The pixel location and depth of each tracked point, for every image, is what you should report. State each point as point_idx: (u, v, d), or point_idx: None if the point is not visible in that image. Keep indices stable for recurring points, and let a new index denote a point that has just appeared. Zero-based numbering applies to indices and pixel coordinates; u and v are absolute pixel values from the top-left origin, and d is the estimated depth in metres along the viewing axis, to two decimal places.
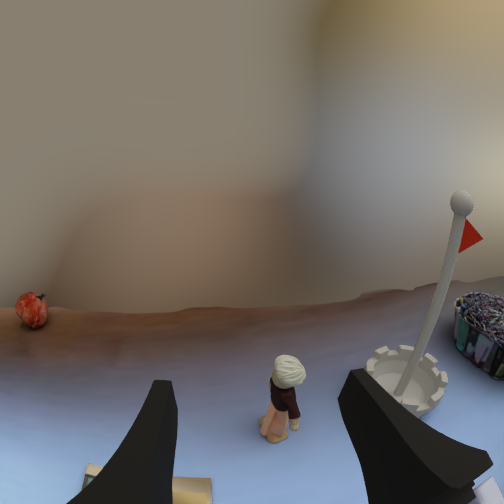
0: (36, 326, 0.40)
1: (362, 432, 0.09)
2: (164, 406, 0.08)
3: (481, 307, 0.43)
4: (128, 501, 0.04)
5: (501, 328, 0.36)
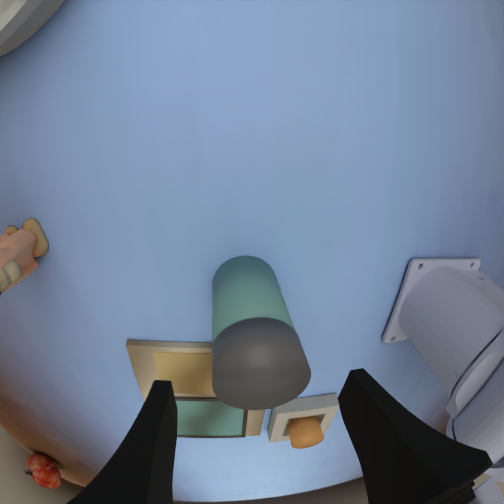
0: (51, 462, 0.29)
1: (362, 432, 0.09)
2: (164, 406, 0.08)
3: None
4: (128, 501, 0.04)
5: None
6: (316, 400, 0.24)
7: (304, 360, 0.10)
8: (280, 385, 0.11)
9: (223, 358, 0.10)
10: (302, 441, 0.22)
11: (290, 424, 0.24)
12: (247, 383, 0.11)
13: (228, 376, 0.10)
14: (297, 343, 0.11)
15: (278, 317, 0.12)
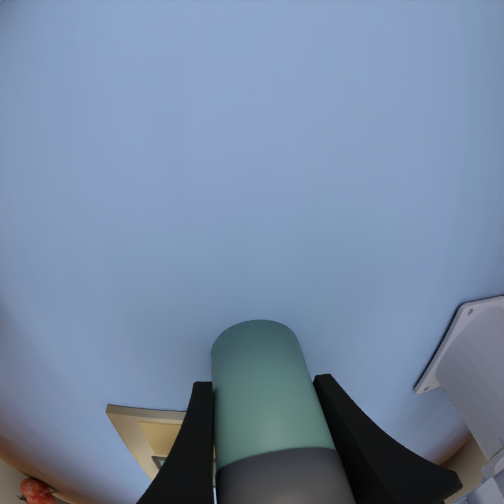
0: (44, 488, 0.23)
1: None
2: (211, 408, 0.08)
3: None
4: None
5: None
6: None
7: (351, 502, 0.05)
8: None
9: None
10: None
11: None
12: None
13: None
14: (342, 477, 0.06)
15: (315, 441, 0.07)
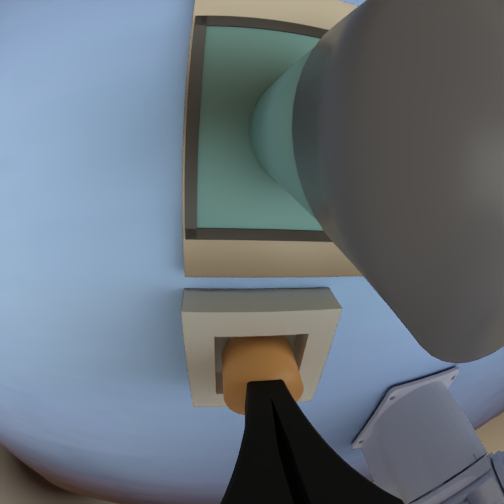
0: None
1: None
2: (271, 405, 0.08)
3: None
4: None
5: None
6: None
7: None
8: None
9: None
10: None
11: (275, 336, 0.12)
12: None
13: None
14: None
15: None
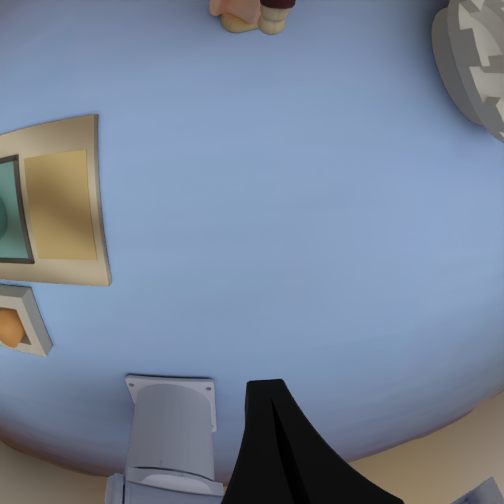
0: None
1: None
2: (271, 405, 0.08)
3: None
4: None
5: None
6: (42, 331, 0.18)
7: None
8: None
9: None
10: (3, 328, 0.15)
11: None
12: None
13: None
14: None
15: None
